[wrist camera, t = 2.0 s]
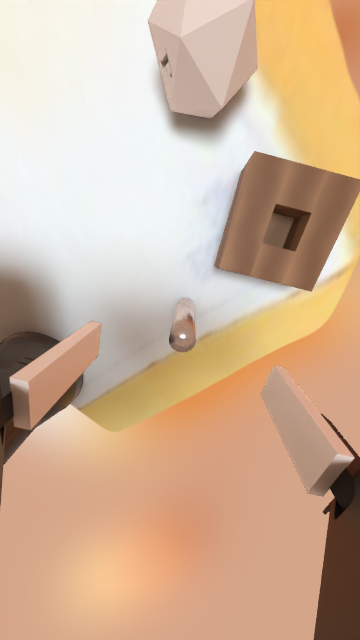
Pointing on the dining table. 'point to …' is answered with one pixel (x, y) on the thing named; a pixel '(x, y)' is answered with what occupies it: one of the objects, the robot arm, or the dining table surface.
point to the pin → (183, 326)
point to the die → (204, 51)
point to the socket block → (285, 220)
